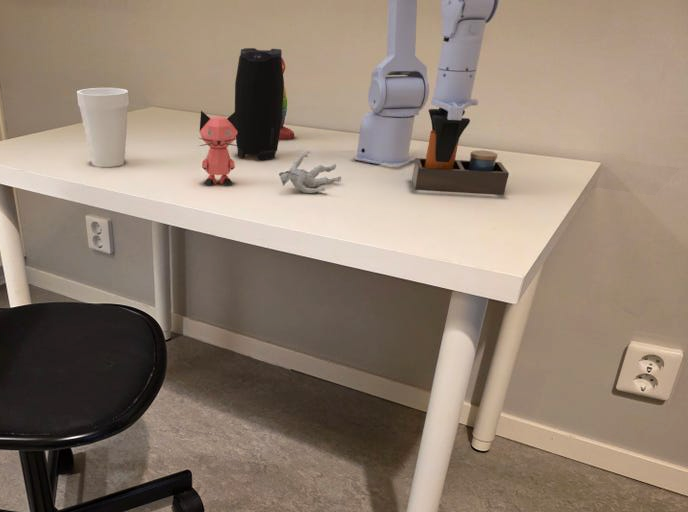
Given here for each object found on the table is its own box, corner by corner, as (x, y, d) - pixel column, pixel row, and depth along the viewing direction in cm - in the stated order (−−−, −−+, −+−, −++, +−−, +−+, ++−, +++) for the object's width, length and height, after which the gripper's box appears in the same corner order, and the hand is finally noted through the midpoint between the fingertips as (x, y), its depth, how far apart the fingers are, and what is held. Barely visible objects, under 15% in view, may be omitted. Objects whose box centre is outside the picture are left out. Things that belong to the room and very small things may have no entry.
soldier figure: (348, 193, 110) (308, 184, 102) (326, 208, 113) (286, 200, 105) (332, 155, 112) (292, 142, 103) (311, 170, 115) (270, 159, 106)
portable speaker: (228, 152, 132) (230, 48, 122) (271, 150, 134) (277, 47, 124) (240, 162, 125) (243, 51, 115) (286, 159, 127) (292, 50, 117)
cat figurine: (197, 187, 110) (197, 114, 103) (198, 177, 115) (197, 106, 109) (239, 187, 110) (240, 114, 103) (237, 177, 115) (239, 107, 109)
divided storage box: (411, 181, 113) (415, 157, 111) (495, 186, 111) (500, 162, 109) (414, 193, 107) (418, 168, 105) (503, 198, 105) (509, 173, 103)
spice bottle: (418, 174, 108) (427, 121, 104) (430, 169, 111) (440, 117, 107) (444, 179, 106) (455, 125, 101) (456, 173, 109) (466, 121, 104)
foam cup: (141, 160, 126) (137, 89, 119) (116, 171, 119) (110, 96, 112) (100, 155, 130) (94, 86, 123) (74, 165, 122) (66, 93, 116)
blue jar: (459, 187, 108) (466, 153, 105) (469, 182, 111) (476, 149, 108) (484, 192, 106) (492, 157, 103) (493, 186, 108) (501, 153, 105)
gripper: (491, 75, 93) (471, 169, 100) (477, 64, 105) (460, 149, 112) (441, 74, 94) (425, 167, 101) (432, 63, 107) (418, 147, 114)
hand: (440, 157), depth 107 cm, fingers closed on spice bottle, 5 cm apart
